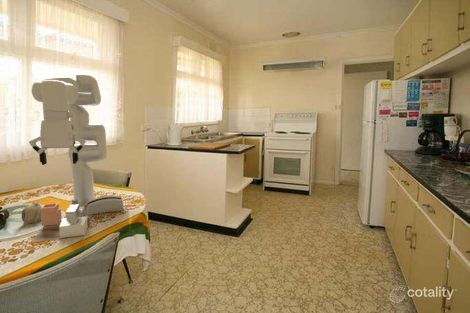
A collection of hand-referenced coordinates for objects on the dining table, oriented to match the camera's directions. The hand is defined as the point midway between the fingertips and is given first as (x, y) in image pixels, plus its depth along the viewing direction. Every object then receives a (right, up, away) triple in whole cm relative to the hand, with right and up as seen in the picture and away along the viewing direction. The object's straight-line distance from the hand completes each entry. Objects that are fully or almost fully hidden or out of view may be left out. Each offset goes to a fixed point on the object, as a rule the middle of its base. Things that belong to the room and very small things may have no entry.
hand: (59, 163), depth 98 cm
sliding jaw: (-12, -25, +14) cm, 31 cm away
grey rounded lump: (-24, -27, +18) cm, 40 cm away
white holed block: (+1, -27, +8) cm, 28 cm away
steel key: (+1, -27, +8) cm, 28 cm away
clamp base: (-7, -26, +16) cm, 31 cm away
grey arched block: (+1, -25, +32) cm, 41 cm away
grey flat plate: (-5, -28, +11) cm, 31 cm away
